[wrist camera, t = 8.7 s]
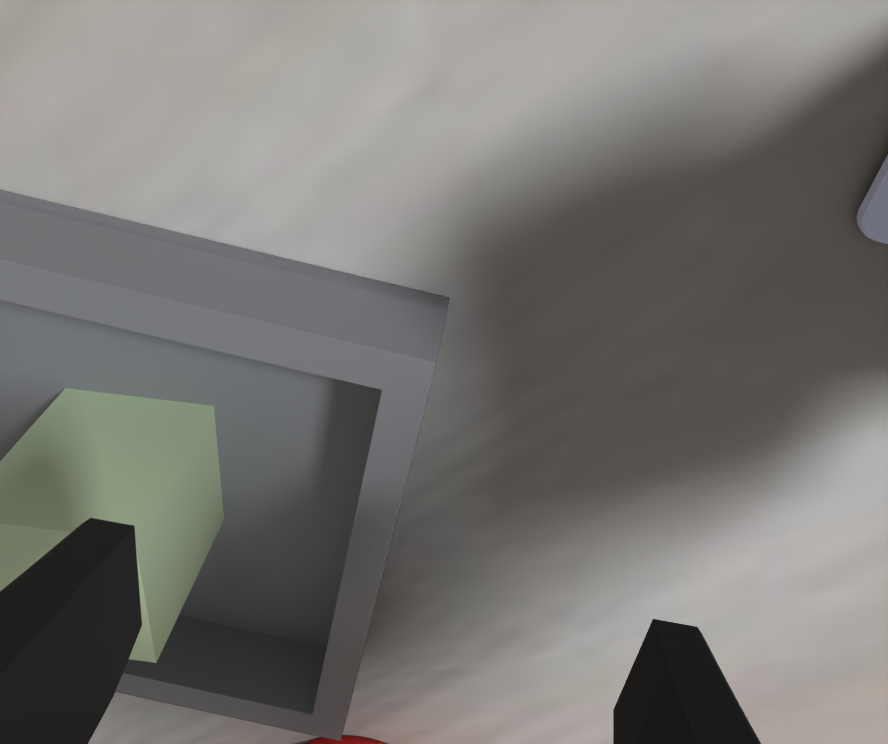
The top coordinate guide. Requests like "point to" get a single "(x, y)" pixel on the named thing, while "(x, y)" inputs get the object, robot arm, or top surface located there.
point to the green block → (118, 493)
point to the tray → (237, 434)
